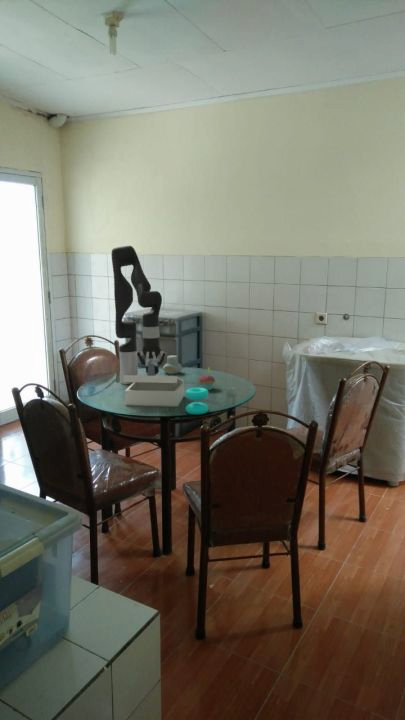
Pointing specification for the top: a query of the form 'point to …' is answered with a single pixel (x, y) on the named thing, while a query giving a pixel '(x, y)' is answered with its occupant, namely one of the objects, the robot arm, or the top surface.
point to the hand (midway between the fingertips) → (152, 373)
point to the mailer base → (154, 394)
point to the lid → (152, 377)
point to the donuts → (197, 407)
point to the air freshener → (172, 365)
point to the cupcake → (206, 381)
